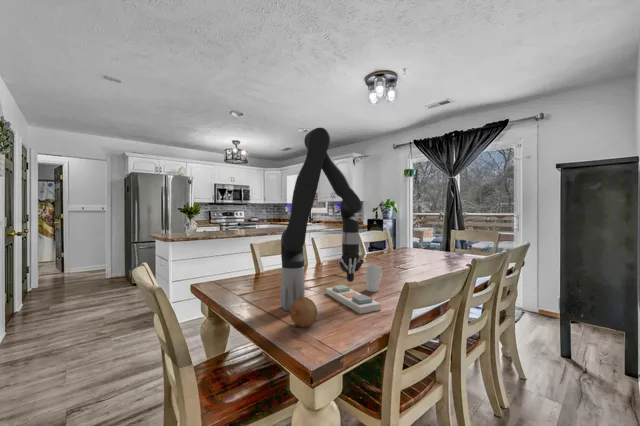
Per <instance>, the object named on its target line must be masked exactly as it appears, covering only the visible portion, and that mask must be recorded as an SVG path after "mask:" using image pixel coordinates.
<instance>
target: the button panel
mask: <svg viewBox="0 0 640 426" xmlns="http://www.w3.org/2000/svg"><path fill="white" fill-rule="evenodd" d="M352 292H354V293H356V294H358V295H363V294H362V293H360V292H357V291H356V290H354V289H352V288H350V291H347V292H340V293H338V292H336V291H334V290H333V286H332V287H326V288H325V294H327V295H328V296H330V297H331V298H334V299H335V300H336V301H338V302H340V303H341V304H343V305H345V306H346V307H348V308H349V309H352V310H353V311H355V312H356V313H358V314H359V315H360V314H366V313H369V312H370V313H371V312H376V311H381V310H382V304H381V303H380V302H378V301H376V300H374V299H372V303H367V304H361V305H359V304H358V303H356V302H354V301H352V298H347V297H345V296H343V295H342V294H345V293H352Z"/></svg>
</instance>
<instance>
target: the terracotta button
mask: <svg viewBox="0 0 640 426" xmlns="http://www.w3.org/2000/svg"><path fill="white" fill-rule="evenodd" d="M342 295H343V296H345V297H347V298H352V296H359V295H358V294H356V293H354V292H352V293H345V294H342Z"/></svg>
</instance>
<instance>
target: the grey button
mask: <svg viewBox="0 0 640 426" xmlns="http://www.w3.org/2000/svg"><path fill="white" fill-rule="evenodd" d="M372 300H373V298H372V297H370V296H368V295H366V294H362V295H359V296H352V301H354V302H356V303H358V304H359V305H361V304H367V303H372Z"/></svg>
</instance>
